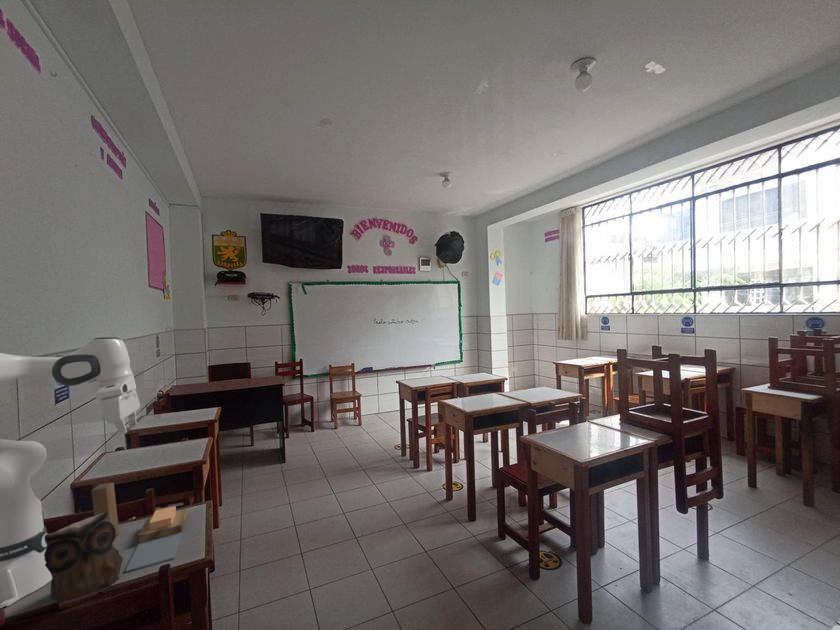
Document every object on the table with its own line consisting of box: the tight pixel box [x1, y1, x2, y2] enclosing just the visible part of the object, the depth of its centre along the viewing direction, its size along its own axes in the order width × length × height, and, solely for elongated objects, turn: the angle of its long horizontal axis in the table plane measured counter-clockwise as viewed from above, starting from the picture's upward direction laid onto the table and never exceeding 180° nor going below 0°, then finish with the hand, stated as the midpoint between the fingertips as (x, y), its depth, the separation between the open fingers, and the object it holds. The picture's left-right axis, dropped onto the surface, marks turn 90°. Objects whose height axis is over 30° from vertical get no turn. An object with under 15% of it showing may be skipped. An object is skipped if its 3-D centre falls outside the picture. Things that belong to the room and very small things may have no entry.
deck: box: [137, 508, 188, 544], centre depth 134 cm, size 12×12×3 cm
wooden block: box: [91, 482, 120, 536], centre depth 131 cm, size 9×4×18 cm, turn 100°
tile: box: [149, 505, 177, 531], centre depth 134 cm, size 6×9×2 cm, turn 23°
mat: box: [124, 532, 183, 574], centre depth 122 cm, size 12×15×1 cm
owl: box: [44, 512, 124, 604], centre depth 105 cm, size 13×13×20 cm
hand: (128, 430), depth 124 cm, fingers open, 8 cm apart
